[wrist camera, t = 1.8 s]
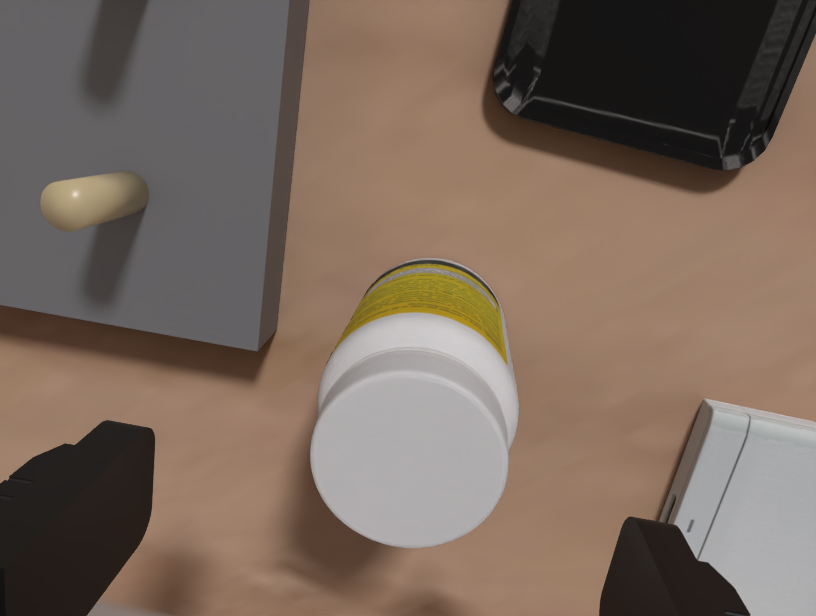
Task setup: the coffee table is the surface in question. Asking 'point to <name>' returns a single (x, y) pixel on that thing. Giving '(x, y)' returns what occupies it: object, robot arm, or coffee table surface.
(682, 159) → the phone
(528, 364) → the coffee table surface
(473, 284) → the supplement bottle
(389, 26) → the coffee table surface
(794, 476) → the hard drive
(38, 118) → the standoff chassis
